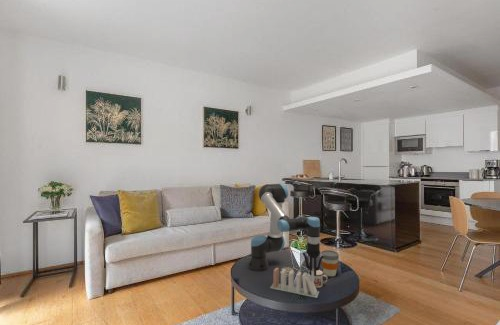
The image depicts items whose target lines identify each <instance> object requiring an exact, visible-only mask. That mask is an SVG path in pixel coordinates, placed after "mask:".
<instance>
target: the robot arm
mask: <svg viewBox="0 0 500 325" xmlns="http://www.w3.org/2000/svg"><path fill="white" fill-rule="evenodd" d="M288 196H289V189H288V188H287V186H286V185H285V184H283V183H271V184H264V185H262V186H261V187H260V189H259V190H258V199H259V200H260V202H261V203H262V204H264V205H265V207H266V208H267V209H268V211H269V212H270V221H269V232H267V235H261V234H259V235H254V236H253V237H252V238H251V240H250V259H249V262H248V268H249V270H251V271H256V272H261V271H262V272H263V271H266V270H268V269H269V262H268V259H267V253H272V252H273V253H274V252H279V251H282V250H283V249H284V248H285V243H286V242H285V238H284V236H283V234H282V233H283V232H285V233H286V232H287V233H288V232H293V231H302V230H303V231H306V232H307V235H306V237H307V238H306V240H307V242H306V251H303V252H302V255H303V257H304V262H305V267H306V269H308V270H309V271H310V275H311V281H313V282H314V280H315V276H316V271H317V270H320V268H321V266H322V263H321V261H322V259H323V257H324V255H322V254H321V250H320V248H321V247H320V245H321V244H320V241H321V235H320V234H321V221H320V218H319V217H318V216H309V217H305V216H301V215H299V216H297V217H296V218H294V217H293V218H290V217H289V216H288V215H287V214H286V212H285V211H284V210H283V204H284V203H285V200H286V199H287V198H288ZM308 257H309V258H308ZM318 257H319V261H318V264H317V259H318Z"/></svg>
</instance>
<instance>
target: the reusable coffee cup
mask: <svg viewBox="0 0 500 325" xmlns="http://www.w3.org/2000/svg"><path fill="white" fill-rule="evenodd" d="M320 253H321V254H322V255H324V257H323V259H322V261H321V267H322V272H323V275H326V276H327V277H335V276H336V275H337V270H338V268H339V258H340V257H339V253H338V252H336V251H333V250H328V249H327V250H321V251H320Z"/></svg>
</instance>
